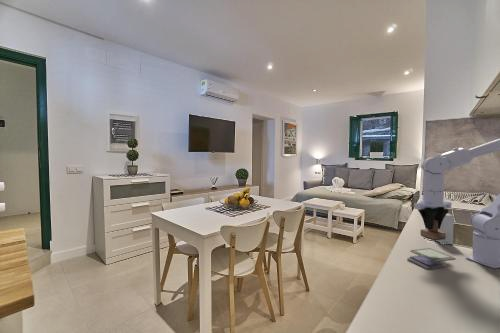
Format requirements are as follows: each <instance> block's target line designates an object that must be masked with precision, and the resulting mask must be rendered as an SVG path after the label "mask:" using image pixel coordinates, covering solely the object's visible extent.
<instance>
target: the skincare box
mask: <svg viewBox="0 0 500 333" xmlns="http://www.w3.org/2000/svg"><path fill="white" fill-rule="evenodd" d="M438 231H441V232H444V233H446V238H445V239H443V240H437V241H439V242H440V243H441V245H446V244H453V245H454V215H452V214H450V213H447V214H446V216H445V217H444V219H443V221H442V224H441V227H440V229H438ZM437 241H436V242H437ZM439 242H438V243H439ZM440 243H439V244H440ZM443 243H444V244H443Z"/></svg>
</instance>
